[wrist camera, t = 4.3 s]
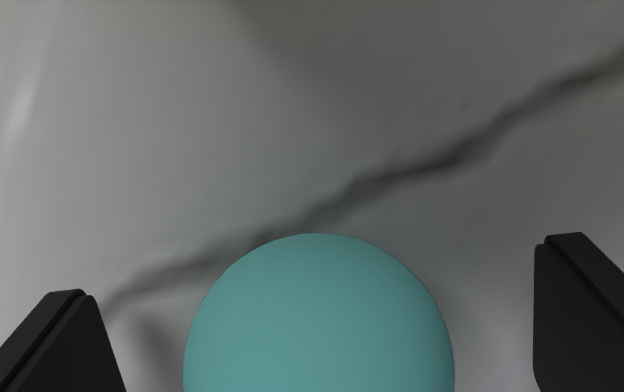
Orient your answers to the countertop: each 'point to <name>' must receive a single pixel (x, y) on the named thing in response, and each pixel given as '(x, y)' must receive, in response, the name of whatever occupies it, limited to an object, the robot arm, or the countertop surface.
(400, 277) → the teal ball
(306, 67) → the countertop surface
